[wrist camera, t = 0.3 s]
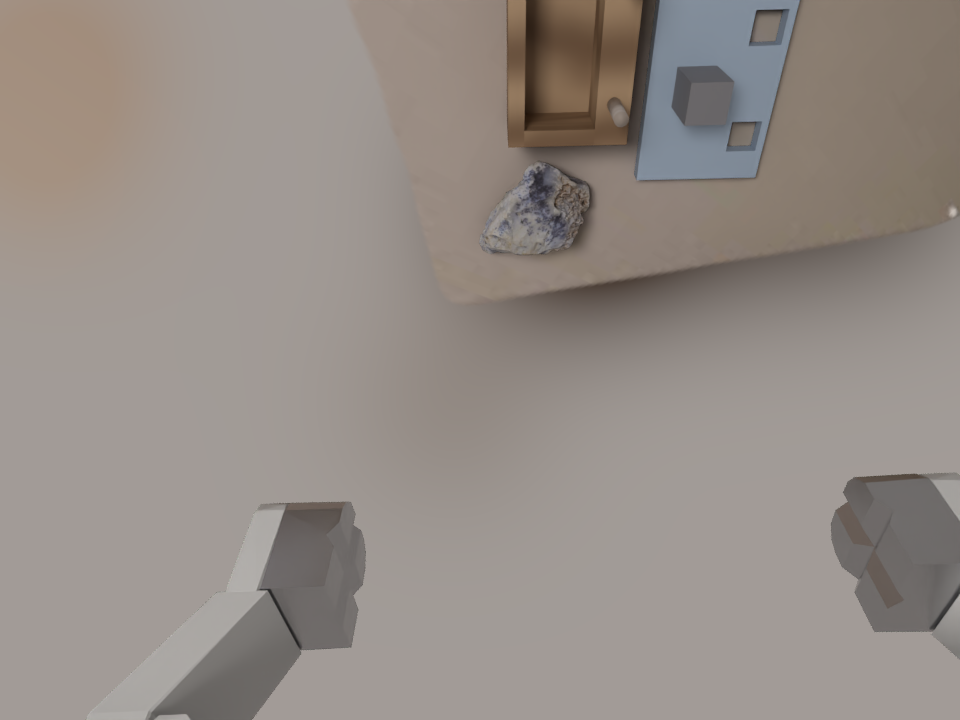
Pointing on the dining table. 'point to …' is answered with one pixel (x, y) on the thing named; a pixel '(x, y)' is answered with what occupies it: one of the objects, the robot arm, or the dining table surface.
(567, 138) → the wooden box with pegs
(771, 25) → the dining table surface
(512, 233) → the mineral specimen
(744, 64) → the grey peg base plate
